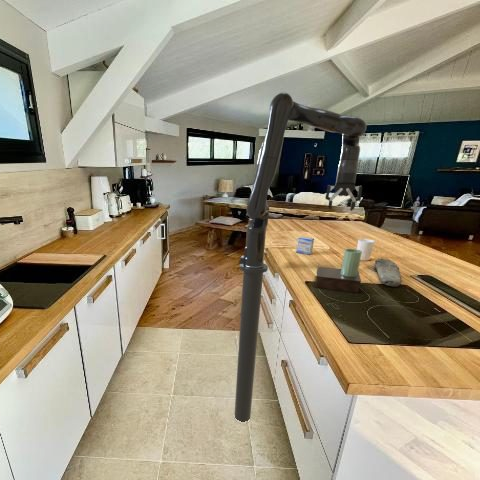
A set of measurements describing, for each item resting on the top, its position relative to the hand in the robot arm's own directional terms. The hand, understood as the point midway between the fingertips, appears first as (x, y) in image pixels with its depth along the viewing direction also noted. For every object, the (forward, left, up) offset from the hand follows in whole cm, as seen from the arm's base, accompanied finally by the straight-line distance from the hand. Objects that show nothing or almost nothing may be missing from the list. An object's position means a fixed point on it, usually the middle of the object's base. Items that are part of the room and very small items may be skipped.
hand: (340, 209), depth 140 cm
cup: (+6, -21, -23) cm, 32 cm away
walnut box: (+2, -21, -28) cm, 35 cm away
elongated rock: (+24, +1, -28) cm, 37 cm away
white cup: (+16, +26, -28) cm, 42 cm away
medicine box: (-14, +27, -28) cm, 42 cm away
